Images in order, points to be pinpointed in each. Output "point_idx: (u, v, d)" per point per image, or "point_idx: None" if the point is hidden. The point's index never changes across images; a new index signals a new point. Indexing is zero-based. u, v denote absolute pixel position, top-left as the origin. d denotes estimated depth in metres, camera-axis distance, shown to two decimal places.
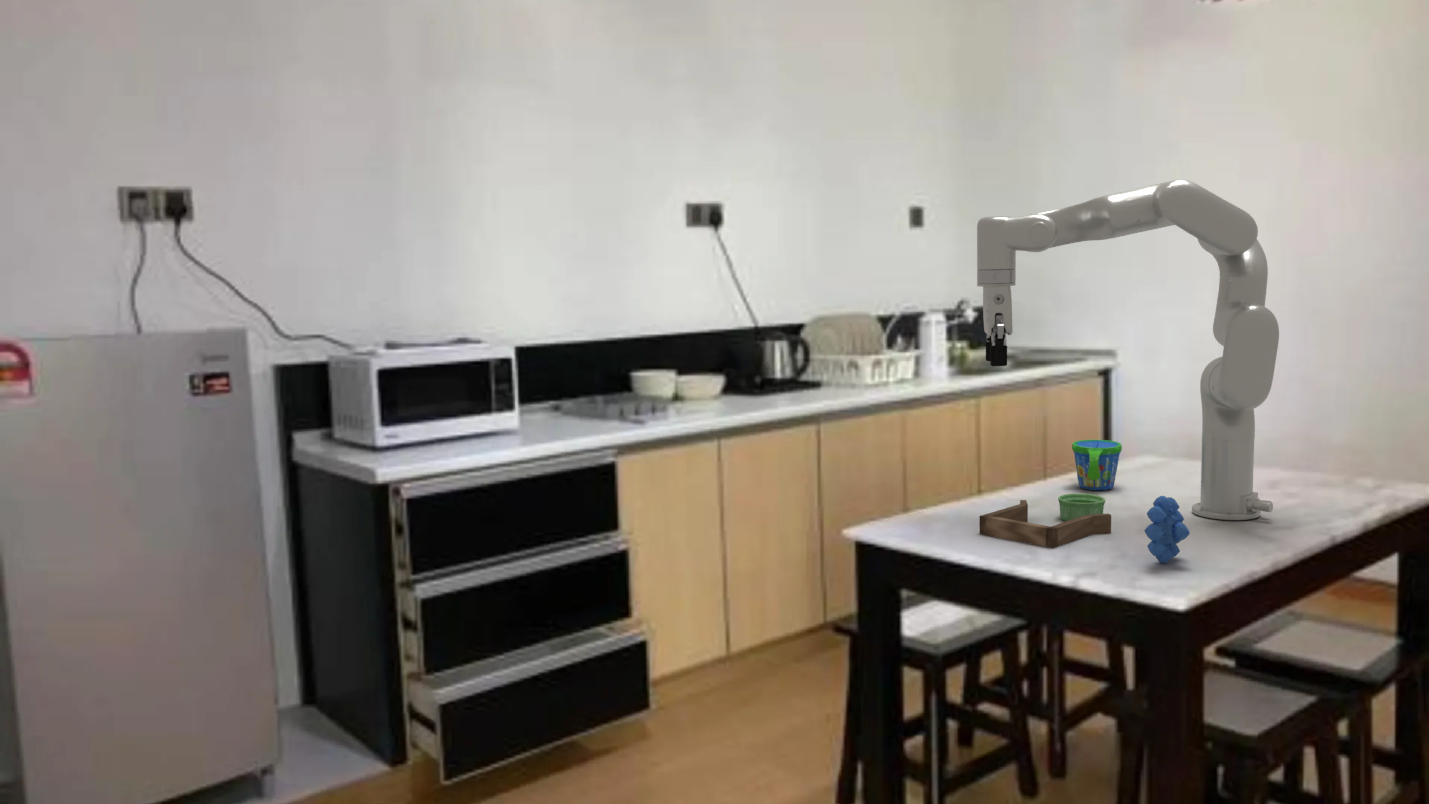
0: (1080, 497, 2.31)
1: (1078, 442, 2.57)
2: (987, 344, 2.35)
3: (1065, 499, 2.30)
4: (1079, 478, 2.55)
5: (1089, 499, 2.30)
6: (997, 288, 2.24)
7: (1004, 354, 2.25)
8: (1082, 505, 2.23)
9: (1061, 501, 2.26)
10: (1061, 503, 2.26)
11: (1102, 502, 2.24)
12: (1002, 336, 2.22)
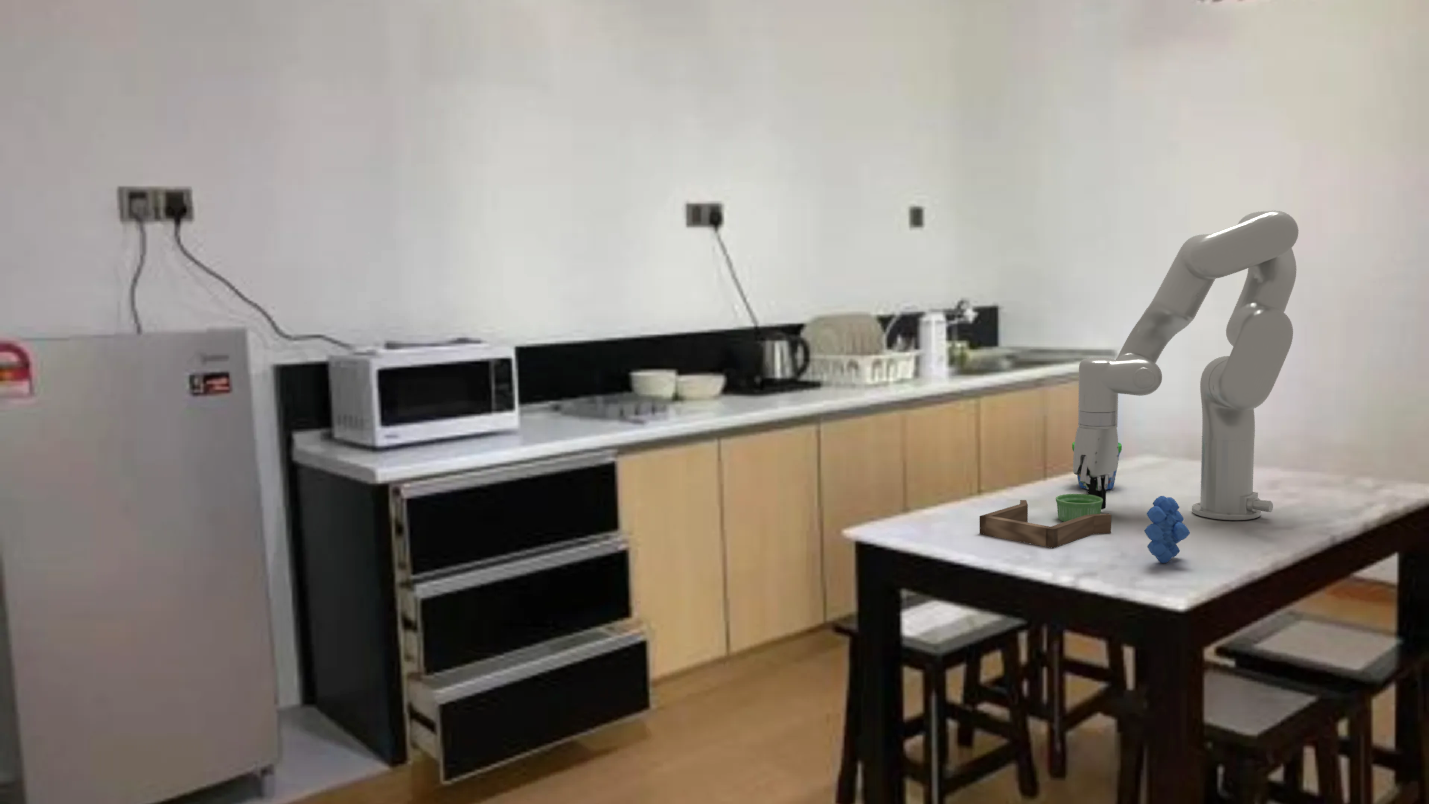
0: (1078, 497, 2.30)
1: None
2: None
3: (1063, 499, 2.30)
4: (1079, 478, 2.55)
5: (1087, 499, 2.29)
6: None
7: None
8: (1080, 505, 2.22)
9: (1058, 501, 2.26)
10: (1058, 503, 2.26)
11: (1100, 502, 2.23)
12: None
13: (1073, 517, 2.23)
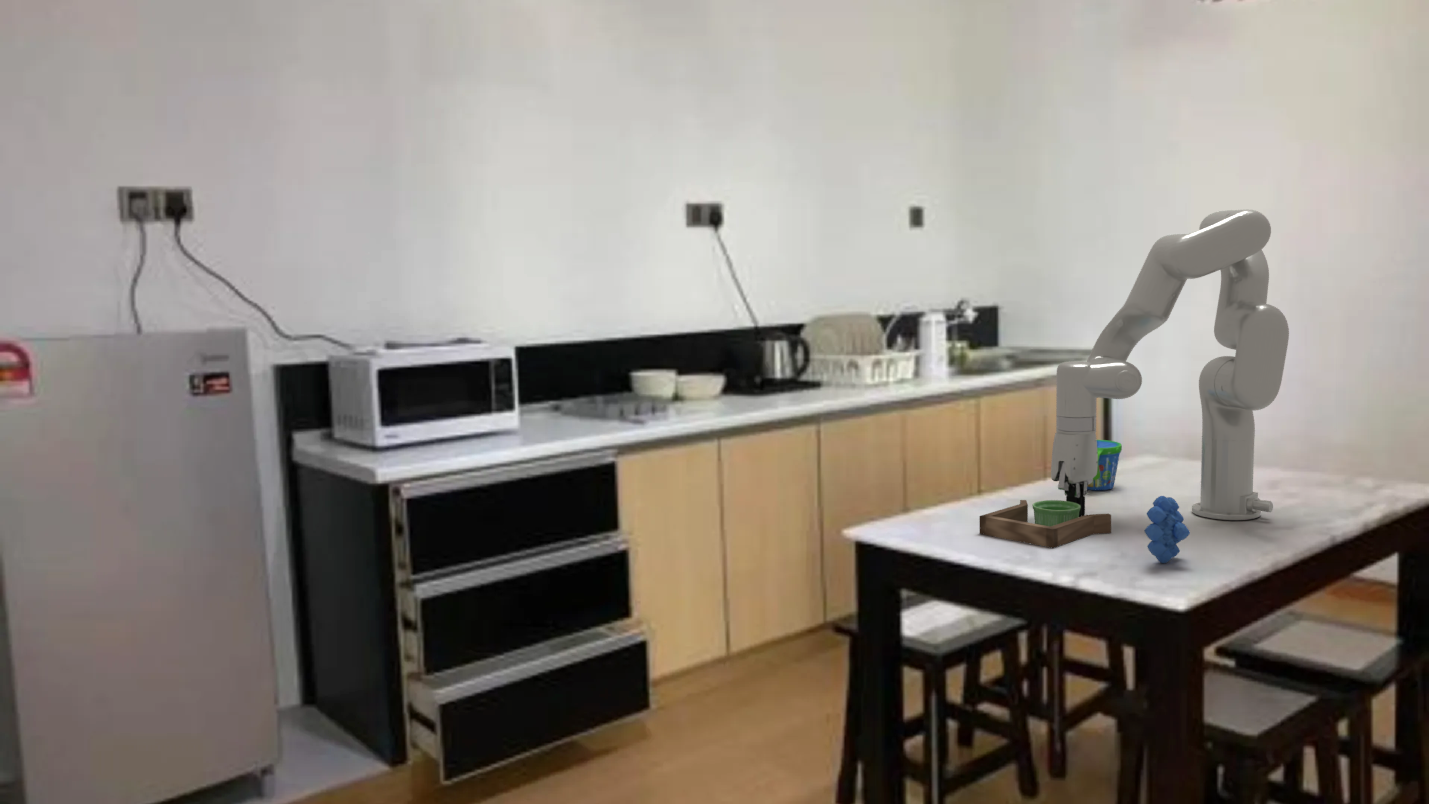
0: (1056, 504, 2.25)
1: None
2: None
3: (1040, 506, 2.24)
4: None
5: (1065, 506, 2.24)
6: None
7: None
8: (1056, 512, 2.17)
9: (1035, 508, 2.20)
10: (1035, 510, 2.21)
11: (1077, 509, 2.18)
12: None
13: (1049, 524, 2.18)
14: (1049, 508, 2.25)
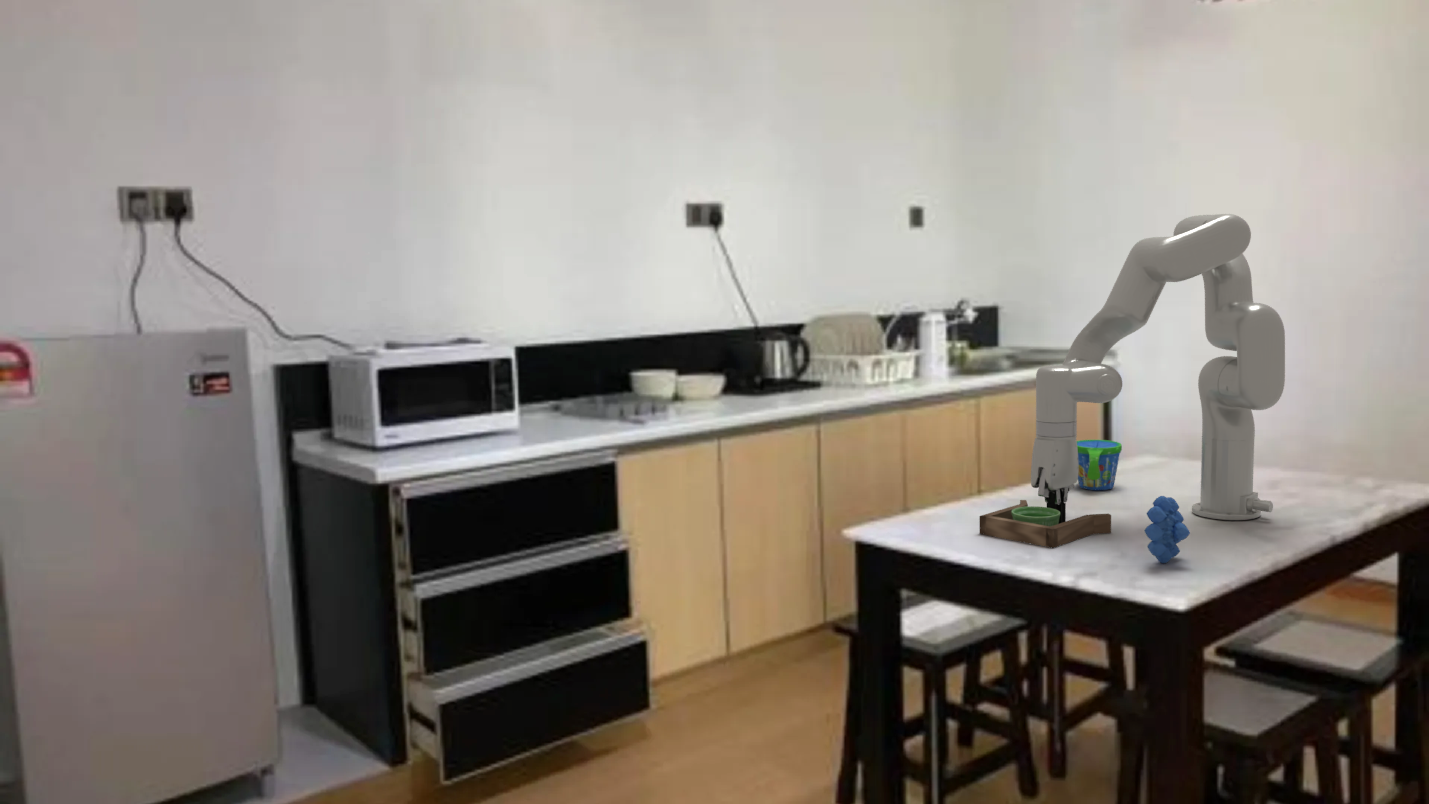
0: (1036, 510, 2.20)
1: (1078, 442, 2.57)
2: None
3: (1020, 512, 2.20)
4: (1079, 478, 2.55)
5: (1045, 512, 2.19)
6: None
7: None
8: (1034, 519, 2.12)
9: (1013, 514, 2.16)
10: (1013, 516, 2.16)
11: (1056, 516, 2.13)
12: None
13: None
14: (1029, 514, 2.20)
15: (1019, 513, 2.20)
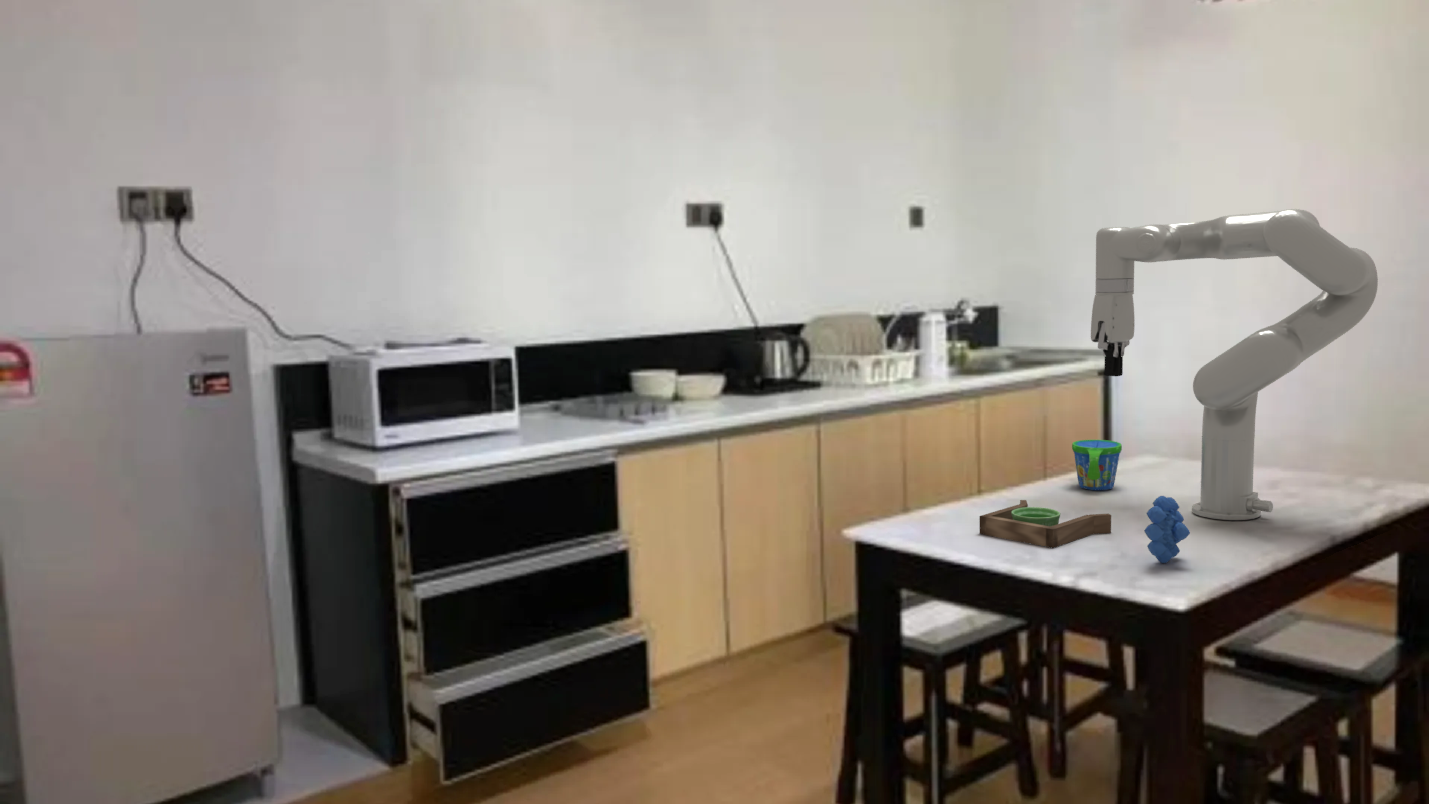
0: (1036, 511, 2.20)
1: (1078, 442, 2.57)
2: None
3: (1020, 513, 2.20)
4: (1079, 478, 2.55)
5: (1045, 513, 2.19)
6: None
7: None
8: (1034, 520, 2.12)
9: (1013, 515, 2.16)
10: (1013, 517, 2.16)
11: (1056, 517, 2.13)
12: None
13: None
14: (1029, 515, 2.20)
15: (1019, 514, 2.20)
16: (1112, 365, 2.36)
